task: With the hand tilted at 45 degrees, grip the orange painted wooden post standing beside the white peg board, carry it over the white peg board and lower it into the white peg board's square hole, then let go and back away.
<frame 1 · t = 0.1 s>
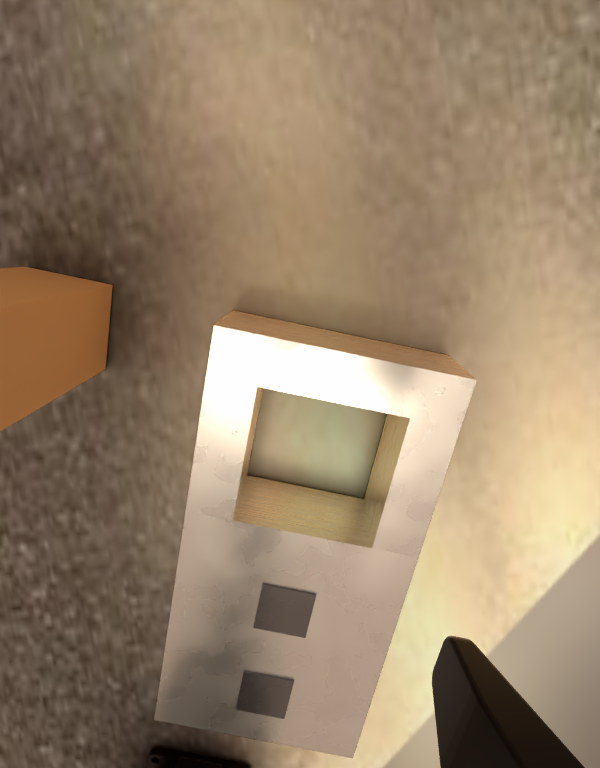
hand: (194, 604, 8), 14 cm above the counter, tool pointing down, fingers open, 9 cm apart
white peg board: (297, 521, 24), on the counter
orange post: (66, 319, 22), on the counter
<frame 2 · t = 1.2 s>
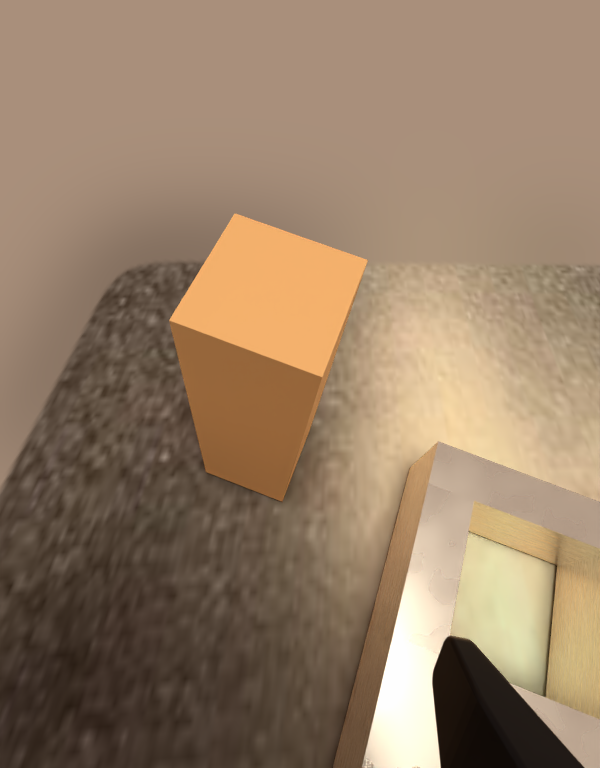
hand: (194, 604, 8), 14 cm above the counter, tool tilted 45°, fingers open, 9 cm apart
white peg board: (468, 732, 19), on the counter
orange post: (259, 450, 24), on the counter
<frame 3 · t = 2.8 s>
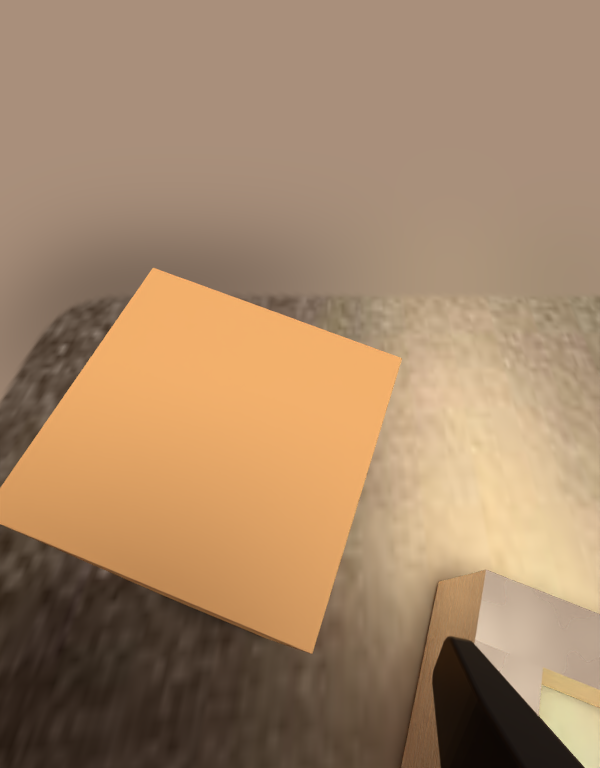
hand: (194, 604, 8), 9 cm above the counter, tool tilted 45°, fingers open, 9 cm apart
orange post: (234, 559, 18), on the counter
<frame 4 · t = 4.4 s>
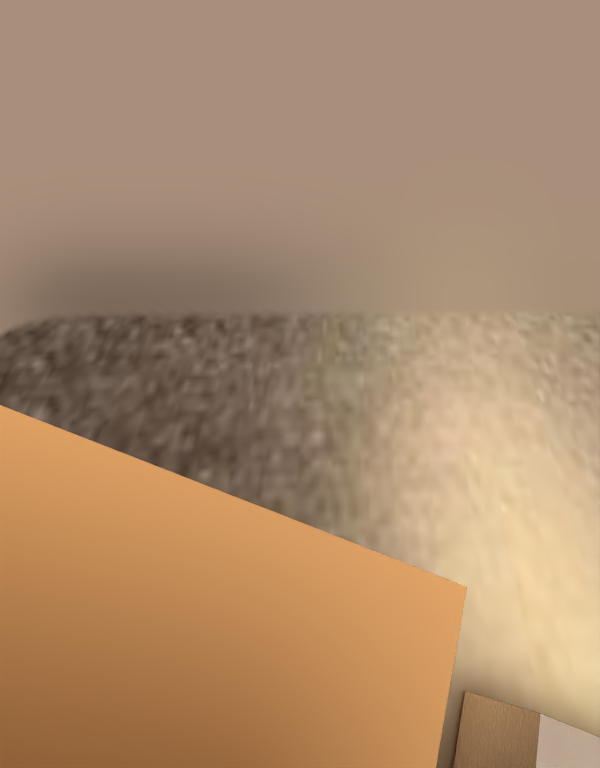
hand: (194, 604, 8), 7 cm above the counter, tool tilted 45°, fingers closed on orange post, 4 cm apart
orange post: (201, 666, 14), on the counter, touching gripper
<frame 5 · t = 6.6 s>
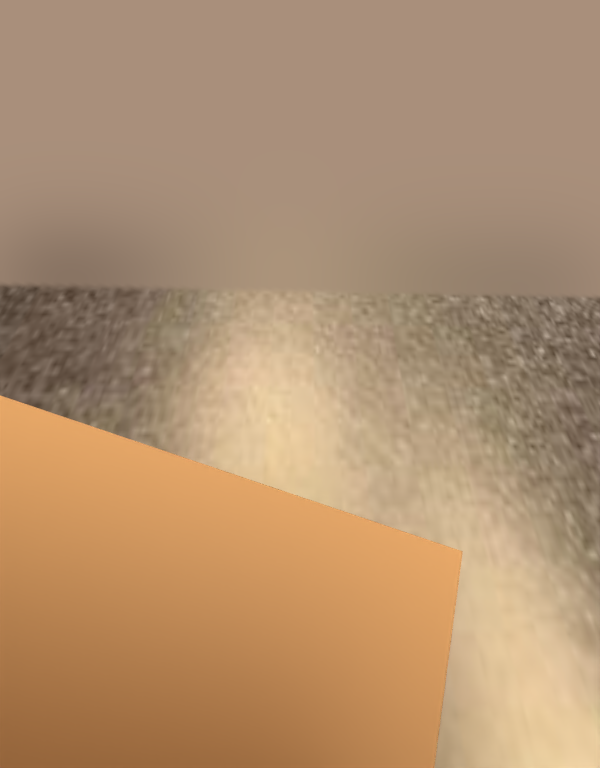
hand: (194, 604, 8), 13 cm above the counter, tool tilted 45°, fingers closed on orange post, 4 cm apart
orange post: (198, 661, 14), point 7 cm above the counter, touching gripper
when the fingers open (8 cm above the counter, at t = 8.9 s): orange post drops 1 cm, resting in white peg board.
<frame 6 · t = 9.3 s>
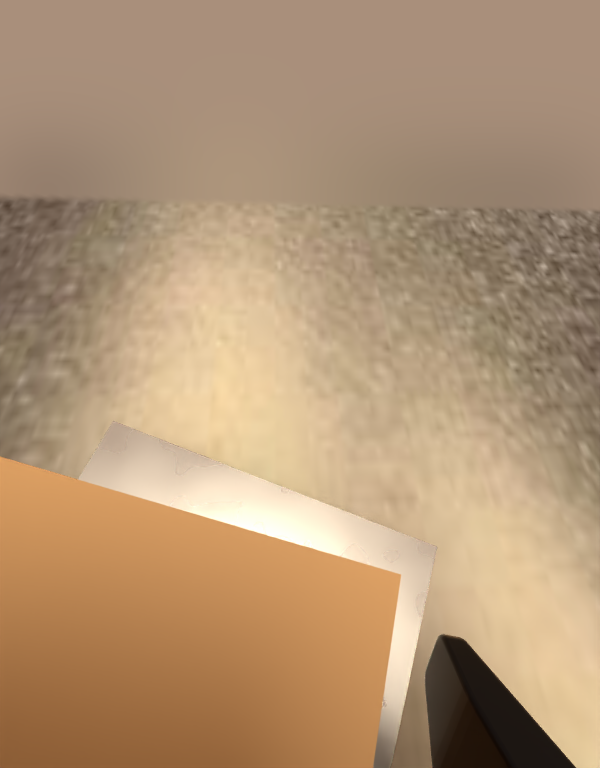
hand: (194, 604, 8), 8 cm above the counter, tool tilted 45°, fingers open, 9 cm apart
orange post: (202, 659, 15), resting in white peg board
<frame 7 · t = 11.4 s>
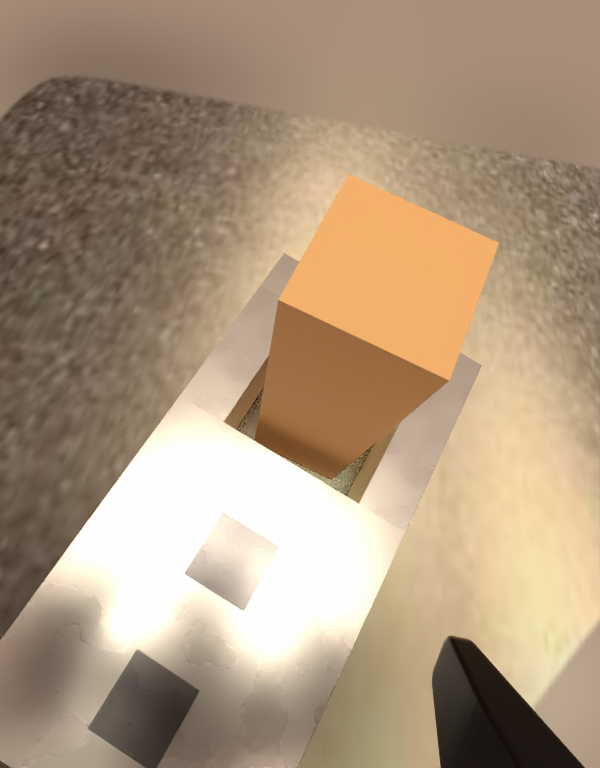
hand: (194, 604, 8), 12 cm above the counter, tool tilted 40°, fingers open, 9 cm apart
white peg board: (258, 518, 21), on the counter
orange post: (310, 423, 23), resting in white peg board
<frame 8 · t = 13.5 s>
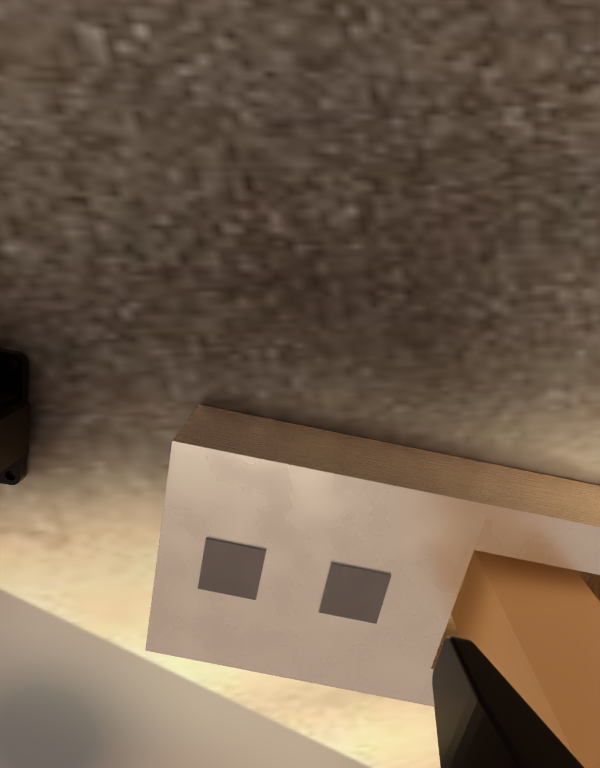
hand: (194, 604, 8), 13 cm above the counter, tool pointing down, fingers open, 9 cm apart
white peg board: (389, 541, 23), on the counter
orange post: (491, 559, 23), resting in white peg board
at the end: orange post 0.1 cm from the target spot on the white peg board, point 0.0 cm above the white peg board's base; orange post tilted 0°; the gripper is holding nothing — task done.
